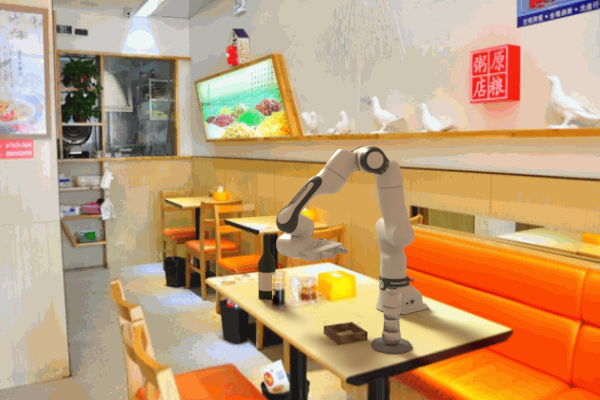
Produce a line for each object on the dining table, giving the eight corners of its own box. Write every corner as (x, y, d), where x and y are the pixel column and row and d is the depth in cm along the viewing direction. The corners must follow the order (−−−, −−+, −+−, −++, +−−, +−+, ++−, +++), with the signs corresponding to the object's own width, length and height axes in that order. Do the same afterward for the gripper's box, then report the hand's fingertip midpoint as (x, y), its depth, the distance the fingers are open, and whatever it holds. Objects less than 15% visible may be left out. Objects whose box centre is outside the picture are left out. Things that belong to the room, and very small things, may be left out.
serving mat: (397, 336, 198) (397, 334, 198) (419, 350, 186) (419, 348, 185) (364, 341, 193) (364, 339, 193) (384, 356, 180) (384, 354, 180)
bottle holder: (352, 329, 206) (352, 321, 205) (367, 340, 195) (367, 332, 194) (323, 333, 201) (323, 325, 201) (337, 344, 190) (337, 336, 190)
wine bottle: (261, 301, 241) (260, 235, 237) (255, 296, 248) (254, 232, 245) (278, 298, 244) (278, 233, 241) (272, 293, 252) (271, 230, 248)
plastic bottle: (401, 347, 186) (402, 291, 183) (381, 346, 187) (382, 290, 184) (400, 340, 192) (402, 286, 190) (381, 339, 193) (382, 285, 191)
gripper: (295, 246, 205) (324, 250, 197) (325, 237, 221) (354, 241, 213) (295, 262, 206) (325, 267, 197) (325, 252, 222) (354, 256, 214)
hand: (340, 253), depth 205 cm, fingers open, 8 cm apart
